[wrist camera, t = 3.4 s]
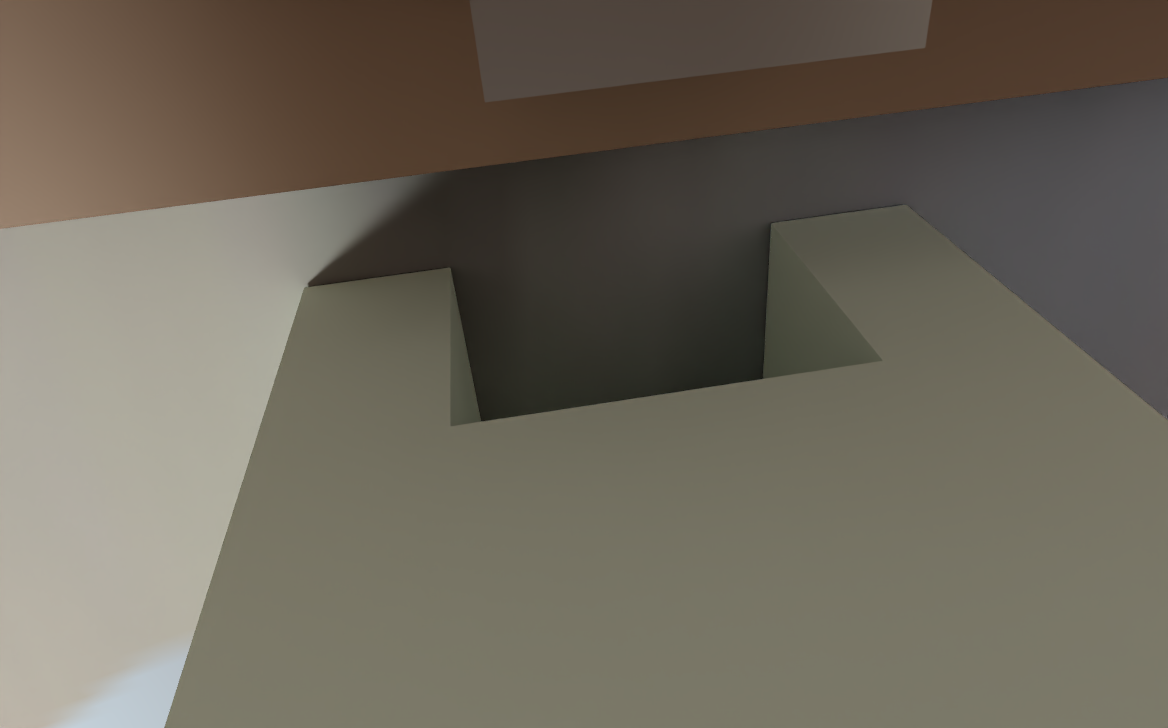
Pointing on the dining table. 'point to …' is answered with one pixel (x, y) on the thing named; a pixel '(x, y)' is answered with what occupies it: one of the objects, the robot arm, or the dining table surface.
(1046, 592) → the block
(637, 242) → the dining table surface
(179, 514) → the dining table surface
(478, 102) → the cleat board
